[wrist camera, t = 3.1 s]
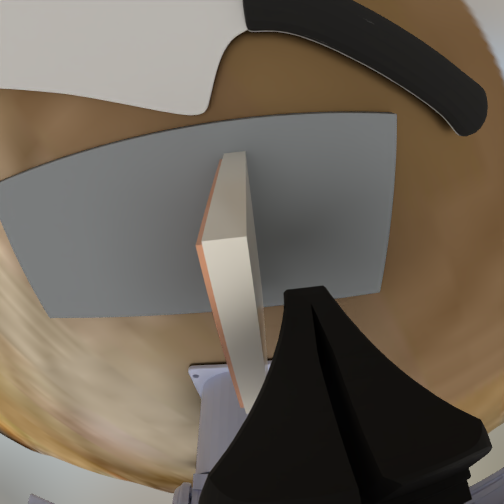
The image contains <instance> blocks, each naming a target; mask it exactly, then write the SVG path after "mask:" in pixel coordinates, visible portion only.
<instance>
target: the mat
mask: <svg viewBox="0 0 504 504" xmlns="http://www.w3.org/2000/svg"><path fill="white" fill-rule="evenodd" d="M396 139H397V114H395V113H391V112H310V113H292V114H278V115H266V116H256V117H247V118H238V119H230V120H223V121H216V122H209V123H203V124H196V125H191V126H185V127H179V128H174V129H169V130H164V131H159V132H154V133H150V134H145V135H141V136H137V137H132V138H128V139H124V140H120V141H116V142H113V143H109V144H105V145H102V146H98V147H95V148H91V149H88V150H84V151H81V152H78V153H75V154H71V155H68V156H65V157H62V158H59V159H56V160H53V161H51V162H48V163H45V164H42V165H39V166H37V167H34V168H31V169H29V170H26V171H24V172H21V173H19V174H16V175H14V176H11V177H9V178H6V179H4V180H2V181H0V220H1V223H2V225H3V228H4V230H5V232H6V235H7V237H8V239H9V242H10V244H11V246H12V248H13V251H14V253H15V255H16V257H17V259H18V261H19V263H20V265H21V267H22V269H23V271H24V273H25V275H26V277H27V279H28V281H29V283H30V285H31V286H32V288H33V290H34V292H35V294H36V295H37V297H38V299H39V301H40V302H41V304H42V306H43V308H44V309H45V311H46V313H47V314H48V316H49V317H50V318H94V317H129V316H152V315H170V314H186V313H201V312H212V309H211V305H210V301H209V297H208V293H207V290H206V286H205V282H204V278H203V274H202V270H201V266H200V262H199V258H198V254H197V249H196V242H197V238H198V234H199V231H200V227H201V223H202V219H203V216H204V212H205V208H206V205H207V201H208V198H209V194H210V191H211V187H212V184H213V180H214V177H215V174H216V170H217V167H218V164H219V160H220V159H222V158H223V155H224V154H225V153H233V152H241V151H245V152H246V160H247V168H248V176H249V184H250V192H251V201H252V209H253V217H254V225H255V234H256V242H257V250H258V259H259V267H260V276H261V284H262V295H263V307H269V306H279V305H284V295H283V293H284V292H285V291H286V290H287V289H296V288H305V287H314V286H322V285H323V286H324V287H326V288H327V290H328V291H329V293H330V294H331V295H332V297H333V298H334V299H336V298H344V297H351V296H358V295H365V294H371V293H378V292H380V289H381V283H382V278H383V272H384V266H385V260H386V253H387V246H388V239H389V231H390V223H391V214H392V204H393V193H394V181H395V165H396Z"/></svg>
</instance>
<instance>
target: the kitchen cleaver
mask: <svg viewBox="0 0 504 504" xmlns="http://www.w3.org/2000/svg"><path fill="white" fill-rule="evenodd" d="M247 30H248V31H250V32H282V33H288V34H292V35H296V36H300V37H303V38H306V39H308V40H311V41H314V42H316V43H319V44H321V45H324V46H326V47H328V48H330V49H333V50H335V51H337V52H339V53H341V54H343V55H345V56H347V57H349V58H351V59H353V60H355V61H357V62H359V63H361V64H363V65H365V66H367V67H369V68H370V69H372V70H374V71H376V72H378V73H379V74H381V75H383V76H384V77H386V78H388V79H390V80H391V81H393V82H394V83H396V84H398V85H399V86H401V87H402V88H404V89H405V90H407V91H408V92H410V93H411V94H413V95H414V96H416V97H417V98H419V99H420V100H422V101H423V102H424V103H426V104H427V105H428V106H430V107H431V108H432V109H434V110H435V111H436V112H437V113H438V114H440V115H441V116H442V117H443V118H444V119H445V120H446V122H447V123H448V124H449V125H450V127H451V128H452V129H453V130H454V132H455V133H456V134H457V135H459V136H468V135H471V134H473V133H475V132H477V131H478V130H479V129H480V128H481V126H482V125H483V123H484V121H485V119H486V116H487V108H488V105H487V97H486V93H485V91H484V89H483V88H482V87H481V86H480V85H479V84H477V83H476V82H475V81H474V80H473V79H471V78H470V77H469V76H467V75H466V74H465V73H464V72H462V71H461V70H460V69H459V68H457V67H456V66H455V65H454V64H453V63H451V62H450V61H449V60H447V59H446V58H445V57H444V56H442V55H441V54H440V53H438V52H437V51H435V50H434V49H433V48H431V47H430V46H428V45H427V44H425V43H424V42H423V41H421V40H420V39H418V38H417V37H415V36H413V35H412V34H410V33H409V32H407V31H406V30H404V29H403V28H401V27H399V26H398V25H396V24H394V23H393V22H391V21H389V20H388V19H386V18H384V17H382V16H381V15H379V14H377V13H375V12H374V11H372V10H370V9H368V8H366V7H364V6H362V5H361V4H359V3H357V2H355V1H353V0H0V88H3V89H19V90H31V91H43V92H54V93H63V94H70V95H77V96H83V97H89V98H95V99H100V100H106V101H111V102H116V103H122V104H127V105H132V106H137V107H142V108H147V109H153V110H158V111H163V112H169V113H175V114H183V115H199V114H201V113H204V112H205V111H206V109H207V108H208V105H209V102H210V97H211V93H212V89H213V84H214V80H215V76H216V73H217V69H218V66H219V63H220V60H221V58H222V55H223V53H224V51H225V49H226V48H227V46H228V45H229V43H230V42H231V41H232V40H233V39H234V38H235V37H237V36H238V35H239V34H241V33H243V32H245V31H247Z"/></svg>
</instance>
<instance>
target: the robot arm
mask: <svg viewBox="0 0 504 504" xmlns="http://www.w3.org/2000/svg"><path fill="white" fill-rule="evenodd" d="M283 295H284V313H283V320H282V325H281V330H280V334H279V339H278V343H277V346H276V349H275V352H274V356H273V359H272V360H271V361H267V362H268V373H267V376H266V378H265V380H264V383H263V385H262V388H261V390H260V392H259V394H258V396H257V398H256V400H255V402H254V404H253V406H252V408H251V410H250V412H249V414H246V412H245V408H240V405H239V401H238V398H237V395H236V392H235V389H234V385H233V382H232V379H231V376H230V372H229V369H228V365H227V364H217V365H193V366H190V367H189V369H188V373H189V375H190V377H191V379H192V381H193V383H194V385H195V387H196V389H197V391H198V393H199V395H200V397H201V409H200V421H199V434H198V447H197V461H196V474H193V488H192V487H191V483H186V482H184V483H182V485H181V486H179V487H178V488H176V489H175V492H174V497H173V504H504V467H503V468H502V469H500V470H499V471H497V472H496V473H494V474H492V475H490V476H489V477H487V478H485V479H483V480H482V481H480V482H478V483H476V484H474V485H472V486H470V487H469V486H468V482H467V479H469V478H470V477H471V475H470V471H469V467H470V466H472V465H473V464H475V463H476V462H477V461H479V460H480V459H481V458H483V457H484V456H485V455H487V454H488V453H489V452H490V451H491V449H492V445H491V442H490V439H489V436H488V434H487V431H486V429H485V427H484V425H483V423H482V421H481V420H480V419H478V418H476V417H474V416H472V415H470V414H468V413H466V412H464V411H462V410H460V409H458V408H456V407H454V406H452V405H450V404H449V403H447V402H445V401H444V400H442V399H441V398H439V397H437V396H436V395H434V394H433V393H431V392H430V391H429V390H427V389H426V388H424V387H423V386H422V385H420V384H419V383H417V382H416V381H414V380H413V379H412V378H410V377H409V376H408V375H407V374H405V373H404V372H403V371H402V370H401V369H399V368H398V367H397V366H396V365H395V364H394V363H392V362H391V361H390V360H389V359H388V358H387V357H386V356H385V355H384V354H382V353H381V352H380V351H379V350H378V349H377V348H376V347H375V346H374V345H373V344H372V343H371V342H370V341H369V340H368V338H367V337H366V336H365V335H364V334H363V333H362V332H361V331H360V330H359V329H358V327H357V326H356V325H355V324H354V323H353V322H352V321H351V319H350V318H349V317H348V316H347V315H346V314H345V312H344V311H343V310H342V309H341V307H340V306H339V305H338V303H337V302H336V301H335V300H334V298H333V297H332V295H331V294H330V293H329V291H328V290H327V288H326V287H324V286H323V285H322V286H314V287H305V288H296V289H287V290H286V291H285V292H284V293H283ZM28 504H54V503H52V502H49V501H47V500H44V499H42V498H40V497H38V496H36V495H33V494H30V497H29V501H28Z"/></svg>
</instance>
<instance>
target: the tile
mask: <svg viewBox="0 0 504 504" xmlns="http://www.w3.org/2000/svg"><path fill="white" fill-rule="evenodd" d="M196 249H197V254H198V258H199V262H200V266H201V270H202V274H203V278H204V282H205V286H206V290H207V293H208V297H209V301H210V305H211V309H212V312H213V316H214V320H215V323H216V327H217V331H218V334H219V338H220V341H221V345H222V348H223V352H224V355H225V359H226V362H227V365H228V369H229V372H230V376H231V379H232V382H233V385H234V389H235V392H236V395H237V398H238V401H239V405H240V408H245V412H246V414H249V412H250V410H251V408H252V406H253V404H254V402H255V400H256V398H257V396H258V394H259V392H260V390H261V388H262V385H263V383H264V380H265V378H266V376H267V373H268V362H267V348H266V335H265V321H264V308H263V295H262V284H261V276H260V267H259V259H258V250H257V242H256V234H255V225H254V217H253V209H252V201H251V192H250V184H249V176H248V168H247V160H246V152H245V151H241V152H233V153H225V154H224V155H223V158H222V159H220V160H219V164H218V167H217V170H216V174H215V177H214V180H213V184H212V187H211V191H210V194H209V198H208V201H207V205H206V208H205V212H204V216H203V219H202V223H201V227H200V231H199V234H198V238H197V242H196Z"/></svg>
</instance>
